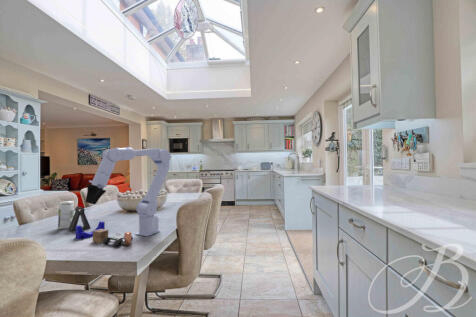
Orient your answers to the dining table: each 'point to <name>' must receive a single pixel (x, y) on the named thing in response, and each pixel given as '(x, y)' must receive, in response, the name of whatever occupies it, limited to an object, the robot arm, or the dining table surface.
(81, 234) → the cable clip
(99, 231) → the block
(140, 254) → the dining table surface
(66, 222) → the syrup box
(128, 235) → the pin
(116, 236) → the dolly
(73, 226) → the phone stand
